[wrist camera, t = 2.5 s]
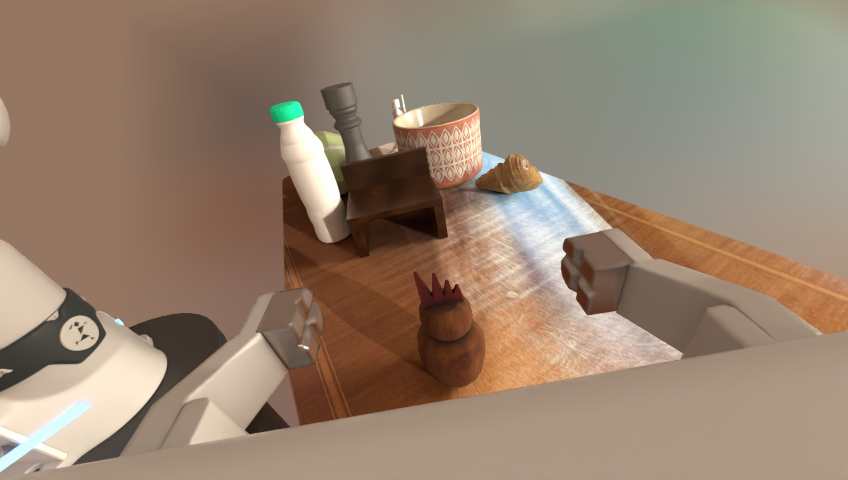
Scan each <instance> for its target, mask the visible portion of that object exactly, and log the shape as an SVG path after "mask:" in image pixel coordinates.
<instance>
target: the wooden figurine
mask: <svg viewBox="0 0 848 480" xmlns="http://www.w3.org/2000/svg"><path fill="white" fill-rule="evenodd" d="M414 278H415V282H416V285H417V289H418V293H419V296H420V300H421V304H420V307H419V314H420V320H421V323H422V324H421V326H420V329H419V331H418V337H417V339H418V351H419V355H420V357H421V360H422V362H423V364H424V366H425V367H426V369H427V371H428V372H429V374H431V375H432V376H433V377H434V378H436V379H437V380H439V381H440V382H442V383H443V384H446V385H448V386H452V387H461V386H466V385H468V384H470V383H471V382H473V381H474V380H476V378H477V377H478V375H479V374H480V372H481V369H482V366H483V361H484V356H485V339H484V333H483V330H482V329H481V327H480V326H479V325H478V324H477V323H476V322H475V321H474V319H472V316H473V314H472V310H471V306H470V303H469V301H468V300H467V299H466V298H465V297H464V295H463V294H462V292H461V289H460V287H459V285H458V284H456V285H455V287H454V289H451V286H450V284H449V281H448V280H445V286H444V288H441V286H440V283H439V281H438V278H437V276H436V273H433V274H432V292H430V290H429V289H428V288H427V286H426V285H425V283H424V282H423V280H422V279H421V277H420V276H419V274H418V273H417V272H414Z"/></svg>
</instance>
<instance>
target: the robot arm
mask: <svg viewBox="0 0 848 480" xmlns="http://www.w3.org/2000/svg"><path fill="white" fill-rule="evenodd" d="M9 135H10V120H9V115H8V112H7V109H6V107H5V105H4V103H3V101H2V99H1V98H0V148H1V147H3V146H5V145H6V144H7V141H8V139H9ZM563 250H564V251H565V253H566V255H565V257H564V258H563V259H562V260H561V271H562V277H563V279H564V281H565V283H566V285H567V286H568V288H569V289H571V290H573V291H575V292H577V296H576V300H577V301H578V303H579V304H580V305H581V307H582V308H583V310H584V311H585V313H586V314H587V315H593V314H600V313H606V312H613V311H617V313H618V314H620V315H621V316H623V317H625V318H626V319H628V320H630V321H631V322H633V323H635V324H636V325H638V326H639V327H641V328H643V329H644V330H646V331H648V332H649V333H651V334H653V335H654V336H656V337H657V338H659V339H661V340H662V341H664V342H666V343H667V344H669V345H671V346H672V347H674V348H675V349H677V350H679V351H680V352H682V353H683V355H682V357H681V359H680V360H674V361H668V362H663V363H657V364H651V365H646V366H640V367H634V368H628V369H623V370H617V371H611V372H605V373H600V374H594V375H588V376H583V377H577V378H571V379H565V380H560V381H554V382H548V383H543V384H537V385H531V386H526V387H520V388H514V389H509V390H503V391H497V392H491V393H486V394H480V395H474V396H469V397H463V398H457V399H451V400H445V401H440V402H434V403H428V404H422V405H417V406H411V407H405V408H399V409H394V410H388V411H382V412H376V413H371V414H365V415H359V416H353V417H348V418H342V419H336V420H331V421H325V422H319V423H313V424H308V425H302V426H296V427H290V428H285V429H279V430H273V431H267V432H262V433H256V434H248V433H247V432H246V431H245V429H246V428H247V426H248V425H249V424H250V422H251V421H252V420H253V418H254V417H255V416H256V414H257V413H258V412H259V410H260V409H261V408H262V406H263V405H264V404H265V402H266V401H267V400H268V399H269V397H270V396H271V395H272V393H273V392H274V391H275V389H276V388H277V387H278V385H279V384H280V383H281V381H282V380H283V379H284V377H285V376H286V375H287V373H288V372H289V370H291V369H296V368H300V367H305V366H310V365H315V364H316V361H317V357H318V352H319V348H320V345H319V343H318V341H317V340H318V339H319V337H320V336H321V335H322V334H323V331H324V315H323V311H322V309H321V307H320V305H318V304H316V303H315V302H313V298H314V294H313V292H312V291H311V289H310V288H308V287H304V288H298V289H292V290H286V291H280V292H276V293H269V294H263V295H260V296H259V297H257V299H256V301H255V303H254V305H253V307H252V309H251V311H250V313H249V315H248V317H247V319H246V320H245V323H244V324H243V326H242V328H241V330H240V332H239V334H238V336H237V337H233V338H231V339H230V340H229V341H228V342H226V343H225V344H224V345H223V346H222V347H220V348H219V349H218V350H217V351H216V352H215V353H213V354H212V355H211V356H210V357H209V358H207V359H206V360H205V361H204V362H203V363H202V364H200V365H199V366H198V367H197V368H196V369H194V370H193V371H192V372H191V373H190V374H189V375H187V376H186V377H185V378H184V379H183V380H181V381H180V382H179V383H178V384H177V385H176V386H174V387H173V388H172V389H171V390H170V391H168V392H167V393H166V394H165V395H164V396H163V397H161V398H160V399H159V400H158V401H157V402H155V403H154V404H153V405H152V406H151V408H150V409H149V411H148V412H147V414H146V415H145V417H144V419H143V420H142V422H141V423H140V425H139V426H138V428H137V429H136V431H135V433H134V434H133V436H132V437H131V439H130V440H129V442H128V443H127V445H126V447H125V448H124V450H123V451H122V453H121V454H120V456H119V457H118V458H112V459H107V460H101V461H95V462H89V463H84V464H78V465H72V464H74V463H75V462H76V461H77V460H78V459H79V458H80V457H81V456H83V455H84V454H85V453H87V452H88V451H90V450H91V449H93V448H94V447H95V446H97V445H98V444H100V443H101V442H103V441H104V440H106V439H107V438H109V437H110V436H111V435H113V434H114V433H115V432H116V431H118V430H119V429H120V428H121V427H122V426H124V425H125V424H126V423H127V422H128V421H129V420H130V419H131V418H132V417H133V416H134V415H136V414H137V412H138V411H139V410H140V409H141V408H142V407H143V406H144V405H145V404H146V403H147V401H148V400H149V399H150V398H151V396H152V395H153V394H154V392H155V391H156V389H157V388H158V386H159V385H160V383H161V381H162V379H163V377H164V375H165V372H166V368H167V358H166V355H165V354H164V353H163V352H162V351H160V350H158V349H156V348H155V347H154V346H153V340H152V338H150V337H149V336H147V335H145V334H144V335H140V336H138V335H137V334H135V333H134V332H133V331H131V330H130V329H128V328H126V327H125V326H124V325H123V322H121V321H120V320H119V319H116V320H115V319H113V318H112V317H110V316H109V315H107V314H106V313H104V312H100V311H97V312H96V311H95V309H94V308H93V307H92V306H91V305H90V304H89V303H87V302H86V299H84V298H83V297H82V296H80V295H79V294H76V293H75V292H74V291H72V290H71V289H69V288H62V287H60V286H59V285H58V284H56V283H55V282H54V281H53V280H52V279H50V278H49V277H48V276H47V275H46V274H45V273H43V272H42V271H41V270H40V269H39V268H37V267H36V266H35V265H34V264H33V263H31V262H30V261H29V260H28V259H27V258H26V257H24V256H23V255H22V254H21V253H20V252H18V251H17V250H16V249H15V248H14V247H12V246H11V245H10V244H8V243H7V242H5V241H3V240H0V480H848V330H846V331H841V332H835V333H829V334H823V333H821V332H820V331H819V330H817V329H816V328H814V327H813V326H812V325H810V324H809V323H807V322H806V321H805V320H803V319H802V318H800V317H799V316H797V315H796V314H795V313H793V312H792V311H790V310H789V309H788V308H786V307H785V306H783V305H782V304H781V303H779V302H778V301H776V300H775V299H773V298H772V297H771V296H769V295H766V294H763V293H760V292H757V291H754V290H751V289H748V288H745V287H742V286H739V285H736V284H733V283H730V282H727V281H724V280H722V279H719V278H716V277H713V276H710V275H707V274H704V273H701V272H698V271H695V270H692V269H689V268H686V267H683V266H680V265H677V264H674V263H671V262H668V261H665V260H662V259H656V260H654V259H653V258H652V257H651V256H649V255H648V254H647V253H646V252H645V251H644V250H643V249H641V248H640V247H639V246H638V245H637V244H636V243H635V242H633V241H632V240H631V239H630V238H629V237H628V236H627V235H625V234H624V233H623V232H622V231H621V230H619V229H616V228H614V229H609V230H604V231H599V232H597V233H591V234H586V235H581V236H576V237H571V238H566V239H565V241H564V243H563ZM71 465H72V466H71Z"/></svg>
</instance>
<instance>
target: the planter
mask: <svg viewBox="0 0 848 480" xmlns="http://www.w3.org/2000/svg"><path fill="white" fill-rule="evenodd" d="M392 123H393V128H394V133H395V137H396V142H397V146H398V151H399V152H400V151H405V150H409V149H413V148H418V147H422V146H425V147H426V152H427V158H428V164H429V170H430V174H431V176H432V178H433V180H434V182H435V184H436V186H437V189H438V190H441V189H448V188H452V187H456V186H459V185H461V184H463V183H465V182H467V181H469V180H470V179H471V178H473V177H474V176H476V175H477V174H478V173H479V172H480V171H481V169H482V153H481V137H480V122H479V108H478V106H477V105H476V104H473V103H468V102H448V103H439V104H434V105H428V106H424V107H420V108H416V109H413V110H410V111H408V112H405V113H403V114H401V115H399V116H397V117H396V118H395V119H394V120H393V122H392Z"/></svg>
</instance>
